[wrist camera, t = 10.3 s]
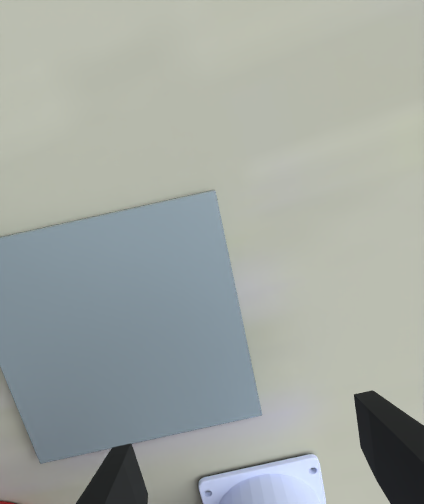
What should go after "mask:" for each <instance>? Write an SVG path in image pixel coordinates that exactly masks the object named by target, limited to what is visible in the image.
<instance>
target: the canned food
mask: <svg viewBox="0 0 424 504" xmlns="http://www.w3.org/2000/svg"><path fill="white" fill-rule="evenodd" d="M0 504H15V503H11V502H4V501H0Z"/></svg>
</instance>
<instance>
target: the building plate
mask: <svg viewBox="0 0 424 504" xmlns="http://www.w3.org/2000/svg"><path fill="white" fill-rule="evenodd" d="M0 367H1V369H2V372H3V374H4V377H5V379H6V382H7V384H8V386H9V389H10V391H11V394H12V396H13V399H14V401H15V403H16V406H17V408H18V411H19V413H20V416H21V418H22V420H23V423H24V425H25V428H26V430H27V432H28V435H29V437H30V440H31V442H32V445H33V447H34V449H35V452H36V454H37V457H38V459H39V462H40V464H41V463H46V462H50V461H55V460H60V459H64V458H69V457H73V456H78V455H83V454H87V453H92V452H96V451H101V450H105V449H110V448H112V447H116V446H121V445H125V444H130V443H131V444H133V443H137V442H142V441H147V440H151V439H156V438H160V437H165V436H170V435H174V434H179V433H183V432H188V431H192V430H197V429H202V428H206V427H211V426H215V425H220V424H224V423H229V422H234V421H238V420H243V419H247V418H252V417H257V416H261V415H262V412H261V407H260V402H259V397H258V393H257V388H256V383H255V378H254V374H253V369H252V364H251V359H250V354H249V350H248V345H247V340H246V335H245V331H244V326H243V321H242V316H241V311H240V307H239V302H238V297H237V292H236V288H235V283H234V278H233V273H232V268H231V264H230V259H229V254H228V249H227V245H226V240H225V235H224V230H223V225H222V221H221V216H220V211H219V206H218V202H217V197H216V192H215V190H211V191H207V192H202V193H198V194H193V195H189V196H184V197H180V198H175V199H171V200H166V201H162V202H157V203H153V204H148V205H143V206H139V207H134V208H130V209H125V210H121V211H116V212H112V213H107V214H103V215H98V216H94V217H89V218H85V219H80V220H76V221H71V222H66V223H62V224H57V225H53V226H48V227H44V228H39V229H35V230H30V231H26V232H21V233H17V234H12V235H8V236H3V237H0Z"/></svg>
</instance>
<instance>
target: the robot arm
mask: <svg viewBox="0 0 424 504" xmlns="http://www.w3.org/2000/svg"><path fill="white" fill-rule="evenodd" d="M354 399H355V407H356V415H357V422H358V430H359V438H360V445H361V449H362V451H363V453H364V455H365V457H366V460H367V462H368V464H369V466H370V468H371V470H372V472H373V474H374V476H375V478H376V480H377V482H378V484H379V485H380V487H381V489H382V490H383V492H384V493H385V495H386V497H387V498H388V500H389V502H390V503H391V504H424V425H422V424H421V423H419V422H418V421H416V420H415V419H413V418H412V417H410V416H409V415H407V414H406V413H404V412H403V411H402V410H400V409H399V408H397V407H396V406H394V405H393V404H392V403H390V402H389V401H387V400H386V399H385V398H383V397H382V396H380V395H379V394H377V393H376V392H374V391H368V392H363V393H359V394H354ZM311 468H313V469H311ZM199 491H200V495H201V498H202V502H203V504H326V499H325V493H324V487H323V481H322V475H321V469H320V463H319V460H318V458H317V456H316V455H313V454H308V455H304V456H299V457H295V458H290V459H286V460H281V461H276V462H272V463H267V464H263V465H258V466H253V467H249V468H244V469H240V470H235V471H230V472H226V473H221V474H217V475H212V476H208V477H204V478H201V479H200V481H199ZM206 491H209V492H206ZM147 502H148V493H147V490H146V487H145V483H144V480H143V477H142V474H141V471H140V468H139V465H138V462H137V459H136V456H135V453H134V450H133V447H132V444H131V443H130V444H125V445H121V446H116V447H112V449H111V450H110V452H109V453H108V455H107V456H106V458H105V460H104V461H103V463H102V464H101V466H100V467H99V469H98V471H97V472H96V474H95V475H94V477H93V478H92V480H91V482H90V483H89V485H88V486H87V488H86V489H85V491H84V492H83V494H82V495H81V497H80V498H79V500H78V501H77V503H76V504H147Z"/></svg>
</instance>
